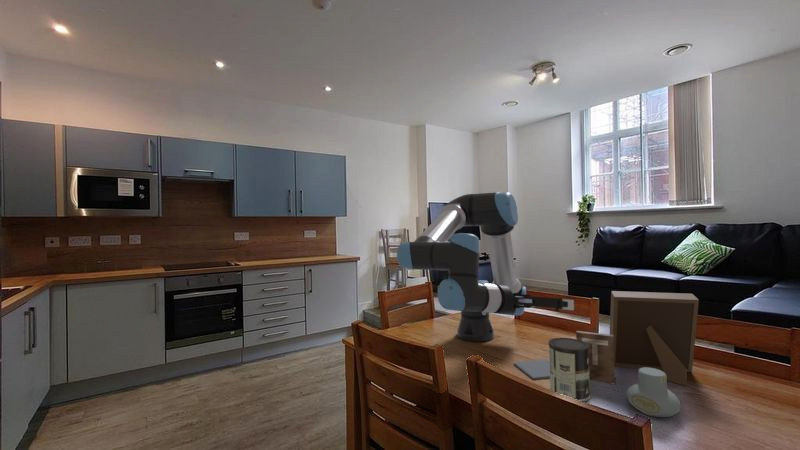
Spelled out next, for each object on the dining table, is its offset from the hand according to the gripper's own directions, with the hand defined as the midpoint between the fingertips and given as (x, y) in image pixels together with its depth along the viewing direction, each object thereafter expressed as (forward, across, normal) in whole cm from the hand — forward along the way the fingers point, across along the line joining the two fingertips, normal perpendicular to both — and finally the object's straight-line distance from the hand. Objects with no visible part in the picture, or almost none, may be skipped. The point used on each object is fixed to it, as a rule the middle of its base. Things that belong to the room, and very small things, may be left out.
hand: (552, 303), depth 102 cm
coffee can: (+6, 0, -24) cm, 25 cm away
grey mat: (+11, -15, -21) cm, 28 cm away
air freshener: (+17, +16, -25) cm, 34 cm away
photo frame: (+39, +4, -19) cm, 43 cm away
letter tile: (+21, -3, -21) cm, 30 cm away
